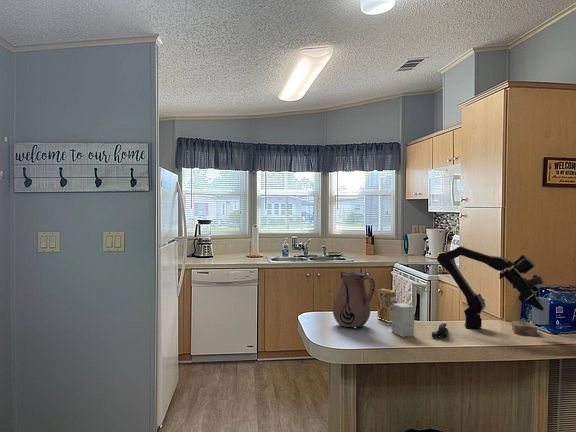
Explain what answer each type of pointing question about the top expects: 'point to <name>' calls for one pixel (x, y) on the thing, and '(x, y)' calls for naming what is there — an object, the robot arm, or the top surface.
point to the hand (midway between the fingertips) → (544, 308)
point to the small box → (403, 319)
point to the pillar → (541, 312)
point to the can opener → (441, 331)
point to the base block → (524, 328)
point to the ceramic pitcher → (353, 300)
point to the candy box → (386, 303)
